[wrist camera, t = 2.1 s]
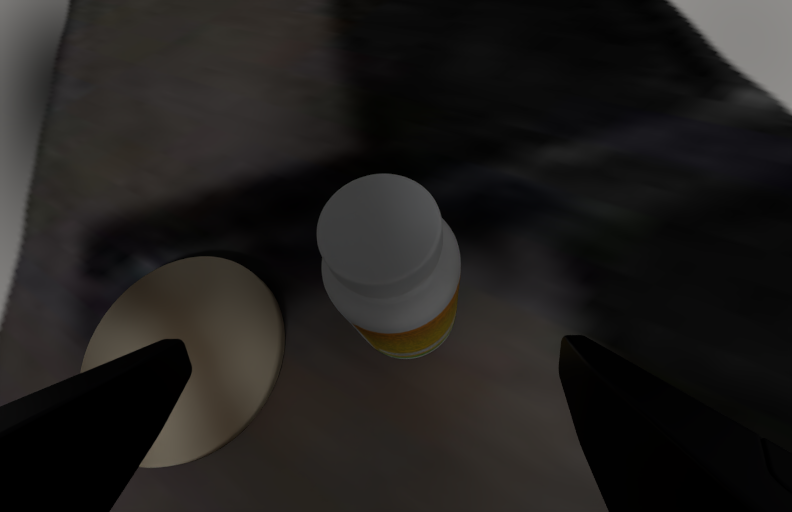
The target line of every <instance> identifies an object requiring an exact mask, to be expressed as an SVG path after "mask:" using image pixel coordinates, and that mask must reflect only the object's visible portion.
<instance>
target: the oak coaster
mask: <svg viewBox="0 0 792 512" xmlns="http://www.w3.org/2000/svg"><path fill="white" fill-rule="evenodd" d="M163 339H180V340H182V341H183V342H184V344H185V346H186V349H187V352H188V355H189V358H190V361H191V364H192V374H191V377H190V379H189V381H188V382H187V384H186V386H185V388H184V390H183V392H182V394H181V396H180V397H179V399H178V401H177V403H176V405H175V407H174V409H173V411H172V412H171V414H170V416H169V418H168V420H167V422H166V424H165V426H164V427H163V429H162V431H161V433H160V434H159V436H158V438H157V439H156V441H155V442H154V444H153V446H152V447H151V449H150V450H149V452H148V453H147V455H146V456H145V458H144V459H143V461H142V462H141V464H140V465H139V467H147V468H155V467H167V466H173V465H179V464H183V463H188V462H192V461H195V460H198V459H200V458H203V457H206V456H208V455H210V454H212V453H213V452H215V451H217V450H219V449H221V448H222V447H224V446H225V445H226V444H228V443H229V442H231V441H232V440H233V439H235V438H236V437H237V436H238V435H239V434H240V433H241V432H242V431H243V430H245V429H246V427H247V426H248V425H249V424H250V423H251V422H252V421H253V420H254V418H255V417H256V416H257V415H258V413H259V412H260V410H261V409H262V408H263V406H264V405H265V403H266V401H267V399H268V398H269V396H270V394H271V392H272V390H273V388H274V386H275V383H276V381H277V379H278V376H279V372H280V369H281V366H282V361H283V356H284V349H285V328H284V321H283V317H282V312H281V310H280V307H279V304H278V302H277V300H276V298H275V296H274V295H273V293H272V291H271V290H270V289H269V288H268V286H267V285H266V284H265V283H264V282H263V281H262V280H261V279H260V278H259V277H257V276H256V275H255V274H254V273H252V272H251V271H250V270H248V269H247V268H245V267H244V266H242V265H240V264H238V263H236V262H234V261H231V260H227V259H224V258H219V257H212V256H199V257H191V258H186V259H182V260H177V261H175V262H172V263H169V264H166V265H164V266H162V267H160V268H158V269H156V270H154V271H152V272H151V273H149V274H147V275H146V276H144V277H142V278H141V279H140V280H138V281H137V282H136V283H134V284H133V285H132V286H131V287H130V288H129V289H127V290H126V291H125V292H124V293H123V294H122V295H121V296H120V297H119V298H118V299H117V300H116V302H115V303H114V304H113V305H112V306H111V308H110V309H109V310H108V311H107V313H106V314H105V315H104V317H103V318H102V320H101V322H100V323H99V325H98V326H97V328H96V330H95V332H94V334H93V336H92V338H91V340H90V342H89V345H88V348H87V350H86V353H85V356H84V360H83V364H82V368H81V373H83V372H85V371H88V370H90V369H92V368H95V367H97V366H100V365H102V364H104V363H107V362H109V361H112V360H114V359H116V358H119V357H121V356H124V355H126V354H129V353H131V352H133V351H136V350H138V349H141V348H143V347H145V346H148V345H150V344H153V343H155V342H158V341H160V340H163Z"/></svg>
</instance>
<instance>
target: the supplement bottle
mask: <svg viewBox="0 0 792 512" xmlns="http://www.w3.org/2000/svg"><path fill="white" fill-rule="evenodd" d="M317 244H318V248H319V251H320V253H321V256H322V268H321V269H322V278H323V283H324V287H325V289H326V292H327V294H328V296H329V298H330V300H331V301H332V303H333V304H334V306H335V307H336V308H337V310H338V311H339V312H340V313H341V314H342V315H343V316H344V317H345V318H346V319H347V320H348V321H349V323H350V324H351V325H352V326H353V327H354V328H355V329H356V330H357V331H358V332H359V333H360V334H361V336H362V337H363V338H364V339H365V340H366V341H367V342H368V343H369V344H370V345H371V346H372V347H374V348H375V349H376V350H378V351H379V352H381V353H383V354H385V355H387V356H390V357H394V358H399V359H413V358H418V357H421V356H424V355H426V354H428V353H430V352H432V351H434V350H435V349H436V348H438V347H439V346H440V345H441V344H442V343H443V342H444V341H445V340H446V338H447V337H448V335H449V334H450V332H451V330H452V327H453V325H454V321H455V317H456V311H457V300H458V290H459V282H460V274H461V258H460V251H459V246H458V243H457V240H456V238H455V235H454V234H453V232H452V230H451V229H450V227H449V226H448V224H447V223H446V222H445V221H444V220H443V219H442V218H441V214H440V210H439V208H438V205H437V203H436V201H435V200H434V198H433V197H432V195H431V194H430V193H429V192H428V191H427V190H426V189H425V188H424V187H423V186H422V185H420V184H419V183H417V182H415V181H413V180H411V179H409V178H407V177H403V176H400V175H395V174H373V175H368V176H364V177H361V178H358V179H356V180H353V181H351V182H350V183H348V184H346V185H345V186H343V187H342V188H340V189H339V190H338V191H337V192H336V193H335V194H334V195H333V196H332V197H331V198H330V199H329V200H328V202H327V203H326V205H325V206H324V208H323V210H322V212H321V214H320V217H319V220H318V224H317Z"/></svg>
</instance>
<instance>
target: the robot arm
mask: <svg viewBox="0 0 792 512" xmlns="http://www.w3.org/2000/svg"><path fill="white" fill-rule="evenodd" d="M191 374H192V364H191V361H190V358H189V355H188V352H187V349H186V346H185V344H184V342H183V341H182V340H180V339H163V340H160V341H158V342H155V343H153V344H150V345H148V346H145V347H143V348H141V349H138V350H136V351H133V352H131V353H129V354H126V355H124V356H121V357H119V358H116V359H114V360H112V361H109V362H107V363H104V364H102V365H100V366H97V367H95V368H92V369H90V370H88V371H85V372H83V373H80V374H78V375H75V376H73V377H71V378H68V379H66V380H63V381H61V382H59V383H56V384H54V385H51V386H49V387H46V388H44V389H42V390H39V391H37V392H34V393H32V394H30V395H27V396H25V397H22V398H20V399H17V400H15V401H13V402H10V403H8V404H5V405H3V406H1V407H0V512H110V510H111V508H112V507H113V505H114V504H115V502H116V501H117V499H118V498H119V496H120V495H121V493H122V492H123V490H124V489H125V487H126V485H127V484H128V482H129V481H130V479H131V478H132V476H133V475H134V473H135V472H136V470H137V469H138V467H139V465H140V464H141V462H142V461H143V459H144V458H145V456H146V455H147V453H148V452H149V450H150V449H151V447H152V446H153V444H154V442H155V441H156V439H157V438H158V436H159V434H160V433H161V431H162V429H163V427H164V426H165V424H166V422H167V420H168V418H169V416H170V414H171V412H172V411H173V409H174V407H175V405H176V403H177V401H178V399H179V397H180V396H181V394H182V392H183V390H184V388H185V386H186V384H187V382H188V381H189V379H190V377H191ZM559 376H560V380H561V383H562V387H563V390H564V393H565V396H566V400H567V403H568V406H569V410H570V413H571V416H572V420H573V423H574V426H575V430H576V433H577V436H578V439H579V442H580V445H581V447H582V450H583V452H584V455H585V457H586V459H587V462H588V464H589V466H590V469H591V471H592V473H593V476H594V478H595V480H596V483H597V485H598V487H599V490H600V492H601V494H602V497H603V499H604V501H605V504H606V506H607V508H608V511H609V512H792V453H790V452H789V451H787V450H785V449H783V448H782V447H780V446H778V445H776V444H775V443H773V442H771V441H769V440H768V439H765V438H762V439H761V437H760V436H759V435H758V434H757V433H755V432H753V431H751V430H750V429H748V428H746V427H744V426H743V425H741V424H739V423H737V422H736V421H734V420H732V419H730V418H728V417H727V416H725V415H723V414H721V413H720V412H718V411H716V410H714V409H713V408H711V407H709V406H707V405H705V404H704V403H702V402H700V401H698V400H697V399H695V398H693V397H691V396H690V395H688V394H686V393H684V392H682V391H681V390H679V389H677V388H675V387H674V386H672V385H670V384H668V383H667V382H665V381H663V380H661V379H659V378H658V377H656V376H654V375H652V374H651V373H649V372H647V371H645V370H644V369H642V368H640V367H638V366H636V365H635V364H633V363H631V362H629V361H628V360H626V359H624V358H622V357H621V356H619V355H617V354H615V353H613V352H612V351H610V350H608V349H606V348H605V347H603V346H601V345H599V344H598V343H596V342H594V341H592V340H590V339H589V338H587V337H585V336H582V335H566V336H564V337H563V338H562V341H561V349H560V358H559Z"/></svg>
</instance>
